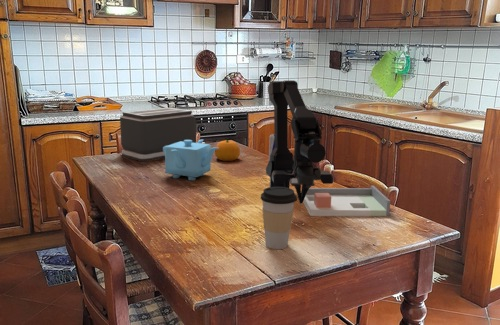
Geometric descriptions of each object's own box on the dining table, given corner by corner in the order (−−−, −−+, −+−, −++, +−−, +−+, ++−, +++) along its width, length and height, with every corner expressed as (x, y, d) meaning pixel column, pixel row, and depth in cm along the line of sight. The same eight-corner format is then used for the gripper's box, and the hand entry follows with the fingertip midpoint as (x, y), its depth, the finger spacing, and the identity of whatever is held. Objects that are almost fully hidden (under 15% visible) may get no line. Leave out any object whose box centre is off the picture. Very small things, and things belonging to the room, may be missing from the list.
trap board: (310, 216, 149) (311, 200, 147) (301, 199, 165) (302, 185, 164) (389, 216, 150) (390, 201, 149) (372, 199, 167) (373, 185, 165)
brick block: (316, 207, 150) (317, 197, 150) (313, 203, 155) (314, 192, 154) (330, 207, 151) (331, 197, 150) (327, 203, 155) (328, 192, 154)
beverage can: (279, 171, 202) (280, 136, 198) (267, 170, 203) (268, 135, 199) (281, 168, 206) (282, 134, 203) (269, 167, 207) (270, 133, 204)
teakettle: (160, 172, 196) (159, 137, 192) (204, 168, 203) (204, 134, 199) (172, 185, 179) (171, 146, 175) (219, 180, 186) (219, 143, 183)
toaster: (201, 151, 237) (201, 110, 232) (143, 162, 212) (141, 116, 207) (176, 145, 249) (175, 106, 245) (118, 155, 224) (116, 112, 219)
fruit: (239, 162, 215) (239, 141, 213) (213, 162, 215) (213, 140, 213) (240, 156, 226) (240, 136, 224) (215, 156, 227) (215, 135, 224)
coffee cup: (257, 238, 131) (258, 185, 127) (291, 237, 131) (293, 185, 128) (261, 252, 121) (262, 196, 118) (297, 252, 122) (300, 196, 119)
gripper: (276, 161, 140) (274, 211, 144) (338, 161, 141) (335, 211, 145) (272, 152, 151) (270, 199, 155) (330, 153, 152) (327, 200, 156)
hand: (300, 202), depth 152 cm, fingers closed
